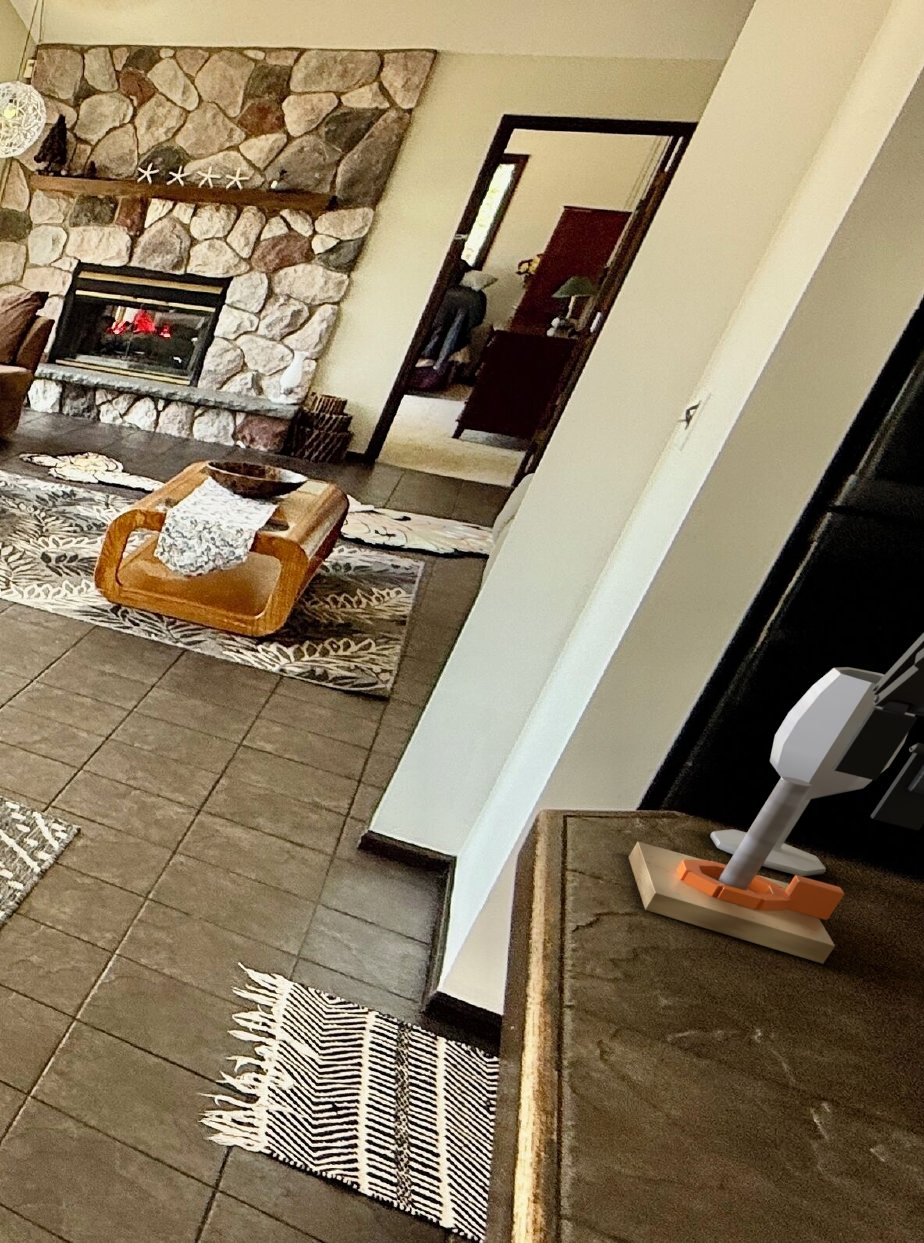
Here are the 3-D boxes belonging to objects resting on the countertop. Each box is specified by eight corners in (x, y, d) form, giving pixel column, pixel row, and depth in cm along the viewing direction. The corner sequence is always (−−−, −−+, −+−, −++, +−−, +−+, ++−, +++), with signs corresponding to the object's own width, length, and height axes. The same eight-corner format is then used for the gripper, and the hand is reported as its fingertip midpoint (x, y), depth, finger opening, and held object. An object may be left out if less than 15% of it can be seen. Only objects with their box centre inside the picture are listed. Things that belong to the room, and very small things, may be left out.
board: (789, 903, 116) (870, 780, 110) (823, 964, 106) (913, 831, 100) (628, 857, 123) (696, 738, 117) (644, 909, 113) (720, 782, 107)
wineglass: (829, 866, 125) (947, 686, 116) (815, 886, 120) (936, 701, 112) (716, 829, 131) (820, 656, 123) (699, 847, 126) (806, 669, 118)
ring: (815, 902, 113) (833, 875, 111) (834, 933, 107) (852, 905, 106) (672, 861, 118) (687, 836, 117) (683, 889, 113) (699, 862, 112)
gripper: (912, 540, 109) (785, 743, 117) (1006, 594, 90) (848, 829, 99) (1036, 560, 104) (895, 769, 113) (1160, 621, 86) (981, 864, 95)
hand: (872, 798), depth 106 cm, fingers open, 13 cm apart
